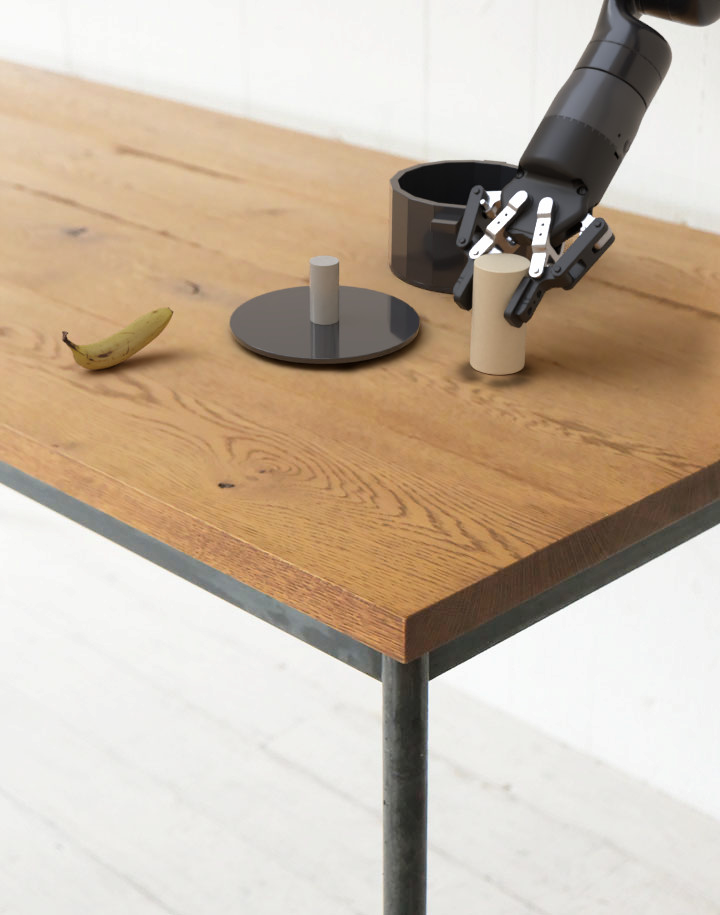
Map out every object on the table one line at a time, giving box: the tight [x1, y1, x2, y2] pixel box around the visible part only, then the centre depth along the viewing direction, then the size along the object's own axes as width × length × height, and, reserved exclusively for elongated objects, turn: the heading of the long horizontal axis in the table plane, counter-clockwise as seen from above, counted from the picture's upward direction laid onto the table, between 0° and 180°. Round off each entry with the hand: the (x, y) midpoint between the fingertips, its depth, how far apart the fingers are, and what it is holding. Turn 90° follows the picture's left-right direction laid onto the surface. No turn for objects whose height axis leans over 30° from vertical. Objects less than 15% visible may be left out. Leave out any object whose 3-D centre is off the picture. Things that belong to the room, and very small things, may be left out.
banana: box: [61, 307, 174, 371], centre depth 113 cm, size 10×2×4 cm, turn 126°
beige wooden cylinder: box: [469, 253, 531, 376], centre depth 112 cm, size 5×5×9 cm
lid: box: [228, 255, 421, 365], centre depth 118 cm, size 17×17×7 cm
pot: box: [387, 159, 533, 295], centre depth 132 cm, size 16×21×8 cm
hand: (486, 313), depth 110 cm, fingers closed on beige wooden cylinder, 4 cm apart
